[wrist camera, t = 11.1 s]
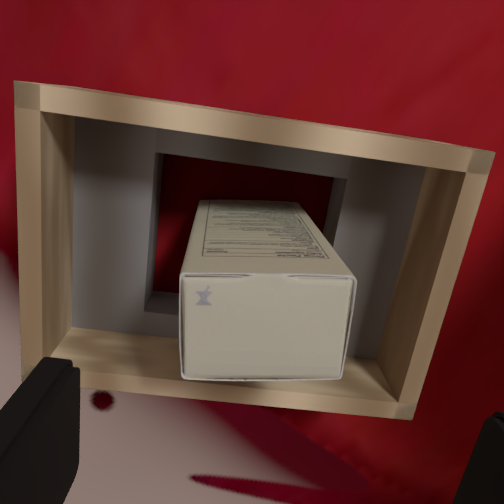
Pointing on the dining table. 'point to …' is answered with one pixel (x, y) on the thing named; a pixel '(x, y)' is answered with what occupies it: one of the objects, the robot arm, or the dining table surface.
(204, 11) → the dining table surface
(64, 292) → the insert box
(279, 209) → the skincare box
